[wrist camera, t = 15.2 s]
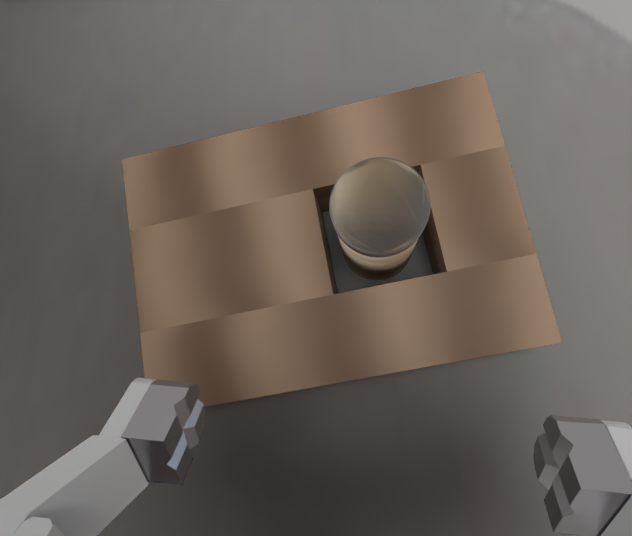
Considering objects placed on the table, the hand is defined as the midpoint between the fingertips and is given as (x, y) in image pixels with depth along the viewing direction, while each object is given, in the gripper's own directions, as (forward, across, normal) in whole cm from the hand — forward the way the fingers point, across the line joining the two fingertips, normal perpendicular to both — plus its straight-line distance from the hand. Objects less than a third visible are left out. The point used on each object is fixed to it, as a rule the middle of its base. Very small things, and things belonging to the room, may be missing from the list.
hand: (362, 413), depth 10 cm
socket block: (+15, +3, +6) cm, 16 cm away
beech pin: (+15, 0, +5) cm, 16 cm away
